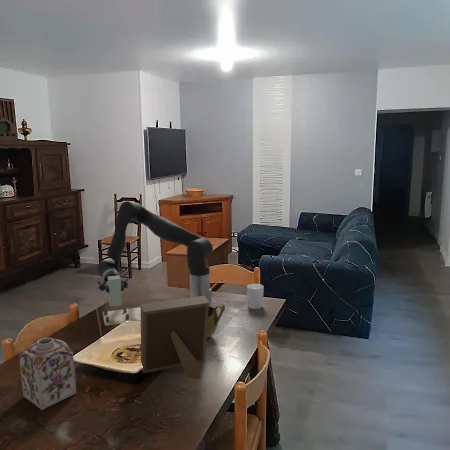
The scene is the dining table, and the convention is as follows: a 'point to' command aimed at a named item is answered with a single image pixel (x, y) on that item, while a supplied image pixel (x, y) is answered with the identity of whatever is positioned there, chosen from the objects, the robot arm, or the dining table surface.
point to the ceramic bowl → (213, 318)
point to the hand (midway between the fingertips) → (115, 289)
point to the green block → (114, 290)
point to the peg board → (121, 316)
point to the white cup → (255, 296)
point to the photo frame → (174, 335)
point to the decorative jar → (47, 372)
